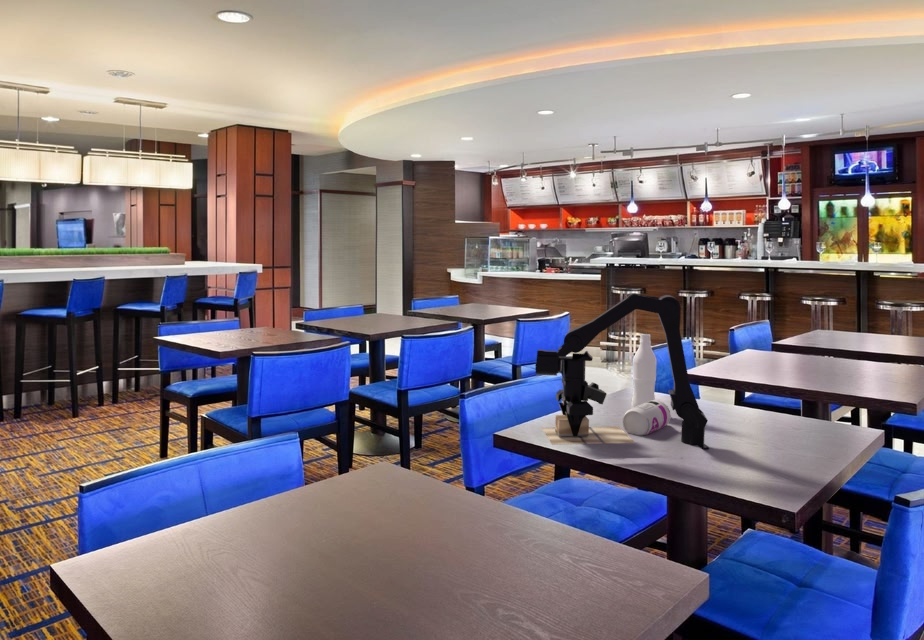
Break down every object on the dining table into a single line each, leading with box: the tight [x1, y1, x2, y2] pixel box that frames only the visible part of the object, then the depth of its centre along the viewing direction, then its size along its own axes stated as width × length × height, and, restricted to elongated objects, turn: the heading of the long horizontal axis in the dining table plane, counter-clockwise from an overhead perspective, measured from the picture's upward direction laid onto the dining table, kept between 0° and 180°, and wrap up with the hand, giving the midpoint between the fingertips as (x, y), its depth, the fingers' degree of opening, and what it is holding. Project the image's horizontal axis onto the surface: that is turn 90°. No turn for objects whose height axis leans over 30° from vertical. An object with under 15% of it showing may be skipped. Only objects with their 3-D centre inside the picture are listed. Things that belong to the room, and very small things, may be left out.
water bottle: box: [631, 333, 658, 408], centre depth 208 cm, size 7×7×25 cm
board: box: [541, 426, 637, 445], centre depth 183 cm, size 16×22×1 cm
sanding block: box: [554, 414, 590, 436], centre depth 182 cm, size 5×8×4 cm, turn 93°
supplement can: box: [622, 399, 672, 436], centre depth 189 cm, size 8×8×15 cm
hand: (573, 433), depth 182 cm, fingers closed on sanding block, 5 cm apart
